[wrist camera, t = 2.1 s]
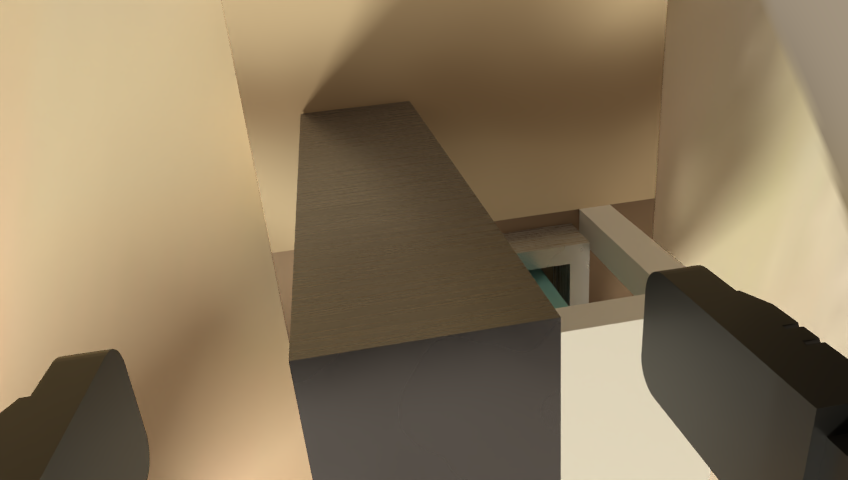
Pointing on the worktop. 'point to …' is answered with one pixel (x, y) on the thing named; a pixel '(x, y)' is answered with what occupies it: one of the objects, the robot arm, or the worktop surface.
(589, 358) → the cream open box
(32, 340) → the worktop surface
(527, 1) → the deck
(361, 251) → the grey angular piece
